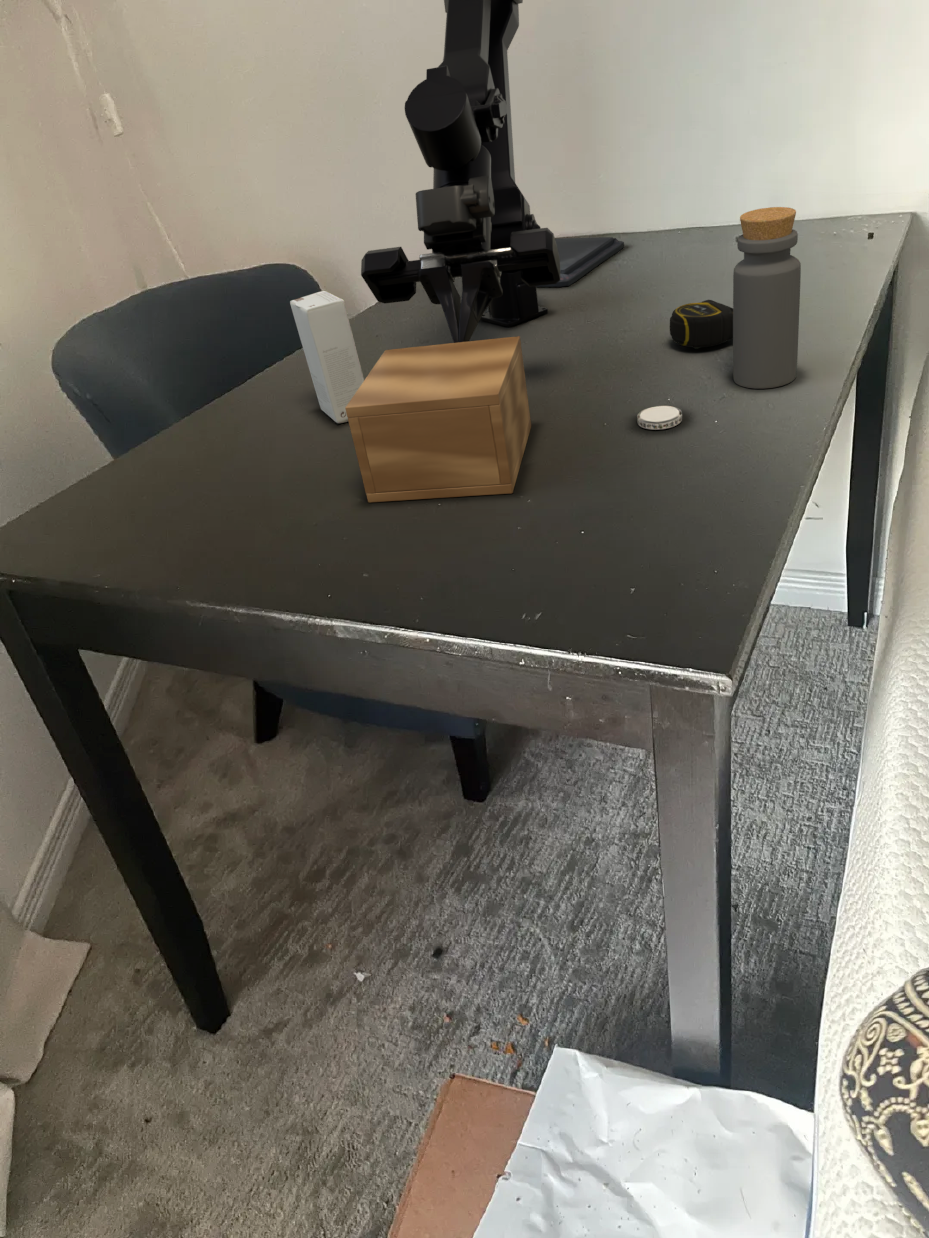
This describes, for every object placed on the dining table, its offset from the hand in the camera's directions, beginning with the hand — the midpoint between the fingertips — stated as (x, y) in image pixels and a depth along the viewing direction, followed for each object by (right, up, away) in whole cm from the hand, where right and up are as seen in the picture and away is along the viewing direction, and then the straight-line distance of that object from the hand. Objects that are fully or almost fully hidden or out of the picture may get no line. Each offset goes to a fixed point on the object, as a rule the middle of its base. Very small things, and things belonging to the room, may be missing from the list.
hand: (460, 348), depth 90 cm
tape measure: (+27, +4, +12) cm, 29 cm away
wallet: (+13, +26, +48) cm, 56 cm away
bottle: (+29, -3, +1) cm, 30 cm away
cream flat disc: (+18, -8, -4) cm, 20 cm away
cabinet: (-1, -12, -4) cm, 12 cm away
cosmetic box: (-12, -4, +11) cm, 17 cm away
